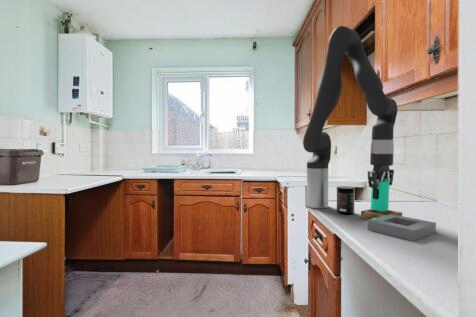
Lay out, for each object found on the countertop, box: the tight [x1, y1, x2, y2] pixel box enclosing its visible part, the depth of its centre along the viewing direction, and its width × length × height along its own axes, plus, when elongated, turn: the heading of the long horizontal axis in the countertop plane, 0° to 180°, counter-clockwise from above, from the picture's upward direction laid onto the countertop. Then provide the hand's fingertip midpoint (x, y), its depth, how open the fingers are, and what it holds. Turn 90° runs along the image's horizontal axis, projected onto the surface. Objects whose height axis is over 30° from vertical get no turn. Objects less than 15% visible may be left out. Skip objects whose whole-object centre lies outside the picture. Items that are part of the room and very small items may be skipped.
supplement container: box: [336, 185, 356, 216], centre depth 115 cm, size 7×7×10 cm
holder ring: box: [360, 208, 403, 220], centre depth 106 cm, size 10×10×2 cm
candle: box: [370, 181, 390, 211], centre depth 106 cm, size 6×6×12 cm
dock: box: [367, 214, 437, 242], centre depth 91 cm, size 14×14×4 cm
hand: (380, 197), depth 106 cm, fingers closed on candle, 5 cm apart
